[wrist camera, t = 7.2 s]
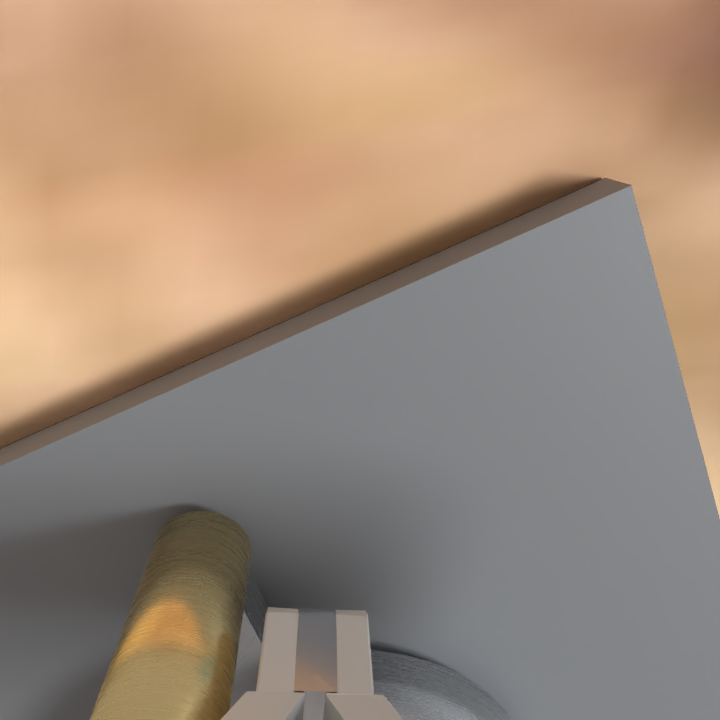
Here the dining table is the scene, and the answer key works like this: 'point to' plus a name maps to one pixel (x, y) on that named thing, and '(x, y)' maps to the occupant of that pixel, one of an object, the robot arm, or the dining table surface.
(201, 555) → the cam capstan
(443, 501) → the grey square plate
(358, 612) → the robot arm
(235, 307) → the dining table surface
